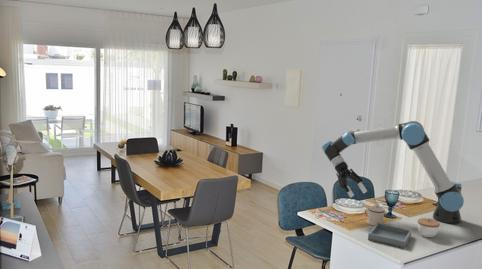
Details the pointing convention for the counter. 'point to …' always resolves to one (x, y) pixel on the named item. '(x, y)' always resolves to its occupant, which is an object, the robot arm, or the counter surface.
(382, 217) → the teacup with lid
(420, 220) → the lidded jar
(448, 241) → the counter surface
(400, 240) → the tray
